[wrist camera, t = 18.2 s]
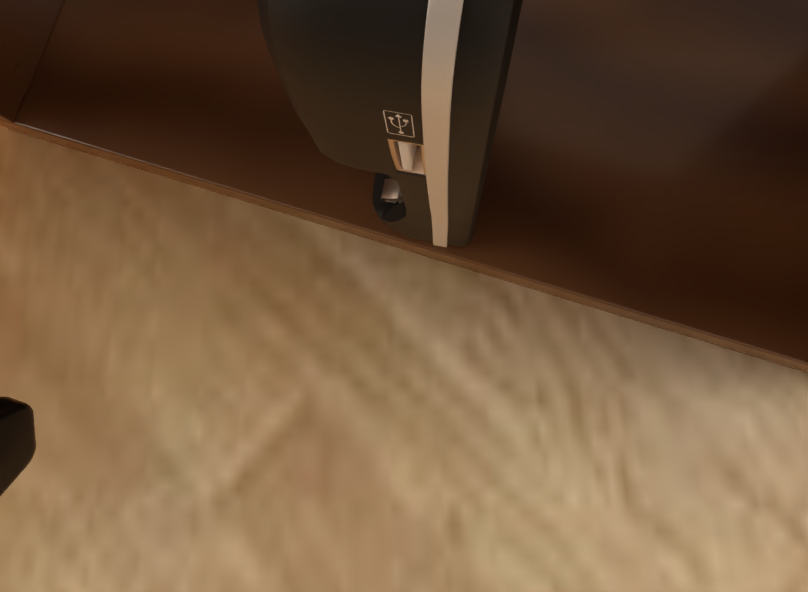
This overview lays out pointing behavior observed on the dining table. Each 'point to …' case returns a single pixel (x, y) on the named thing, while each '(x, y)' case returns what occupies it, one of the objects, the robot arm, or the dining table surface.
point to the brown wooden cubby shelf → (511, 152)
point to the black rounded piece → (401, 97)
